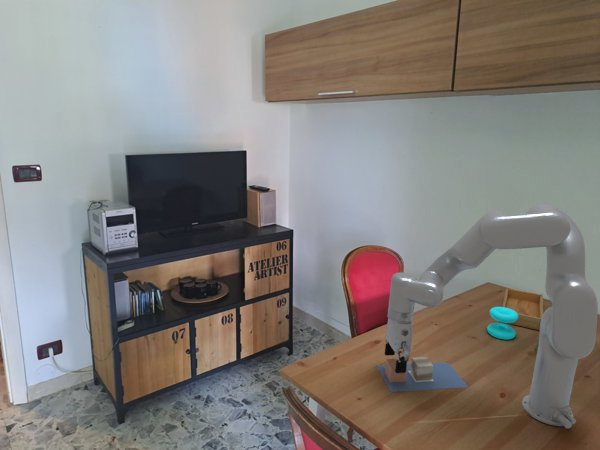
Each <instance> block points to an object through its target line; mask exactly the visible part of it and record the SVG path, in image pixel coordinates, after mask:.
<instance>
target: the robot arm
mask: <svg viewBox="0 0 600 450" xmlns="http://www.w3.org/2000/svg"><path fill="white" fill-rule="evenodd" d="M582 234H583V233H582V232H581V229H580V228H579V226H578V225H577V224H576V221H574V219H573V218H572V217H570V215H569V214H567V213H566V212H564V211H563V210H562V209H559V208H557V207H556V206H554V205H550V204H548V203H547V204H546V203H540V204H539V203H538V204H536V205H533V206H532V207H530V208H529V209H528V210H527V212H526V214H523V215H522V214H521V215H508V213H506V212H504V211H501V210H496V209H494V210H490V211H488V212H486V213H485V214H483V215H482V217H480V218H479V219H478V220H477V221H476V222H475V223H474V224H473V225H472V226H471V227H470V228H469V229H468V231H466V232H465V234H463V236H461V237H460V238H459V239H458V240H457V241H456V242H455V243H454V244H453V246H451V247H450V248H448V249H447V250H446V251H445V252H444V253H442V254H441V255H439V257H437V259H435V260H434V261H433V263H431V264H430V266H428V267H427V268H426V269H425V271H423V272H422V274H420V276H419V279H417V276H415V275H414V274H412V273H408V272H395V273H393V275H392V276H391V281H390V282H391V283H390V289H389V298H388V308H387V318H388V319H387V324H386V331H385V337H386V338H385V345H384V346H385V348H384V356H395V355H396V357H397V358H396V359H398V360H396V368H395V372H396V373H405V372H406V366H407V364H408V362H409V359H410V357H411V354H410V353H411V352H412V344H413V343H412V341H413V323H412V322H413V320H414V311H415V304H418V305H421V306H424V307H426V308H427V307H428V308H434V307H437V306H439V305H441V304H442V301H443V299H444V292H445V291H444V289H445V287H446V286H447V285H448V283H450V282H451V281H452V280H453V279H454V278H455V277H456V276H458V274H460V273H462V272H464V271H466V270H467V271H468V270H474V269H475V268H478V267H479V266H480V265H481V264H482V263H483V261H485V260H486V259H487V258H488V257H489V256H491V254H492V253H494V251H495V250H519V249H520V250H521V249H534V248H545V249H546V276H545V284H544V285H545V286H544V288H545V293H546V295H547V297H548V299H549V301H550V302H551V306H550V307H548V308H547V309H545V310H544V311H543V315H542V317H541V322H540V330H539V337H538V339H539V345H538V351H537V353H536V356H535V357H536V358H535V363H534V368H533V375H532V379H531V380H532V381H531V385H530V390H529V394H528V395H524V397H523V398H522V401H521V405H522V407H523V409H524V410H525V411H526V412H527V414H528V415H529V416H530V417H532V418H533V419H536V420H537V421H539V422H541V423H544V424H546V425H550V426H555V427H563V428H565V429H567V430H568V429H570V428H571V427H572V426H573V425H574V424H576V423H577V420H576V419H575V418H574V413H573V412H572V408H571V406H570V400H571V394H572V390H573V385H574V381H575V380H574V379H575V376H576V371H577V367H578V362H579V360H580V359H581V360H582V359H584V358H585V357H587V356H589V355H590V354H591V353H592V352H593V349H594V348H595V344H596V340H597V339H596V338H597V329H598V328H597V326H598V312H599V311H598V309H599V307H598V306H599V305H598V298H597V294H596V293H595V290H594V289H593V287H592V286H591V285H590V284H589V283H588V282H587V281H588V280H587V279H586V246H585V241H584V238H583V237H584V236H583V235H582ZM401 354H403V356H401Z"/></svg>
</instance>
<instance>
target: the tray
mask: <svg viewBox="0 0 600 450" xmlns="http://www.w3.org/2000/svg"><path fill="white" fill-rule="evenodd" d="M504 292H505V293H504V297H503V302H502V306H501V307H505V308H509V309H512V310H514V311H515V312H516V313H517V314H518V320H517V321H515V322H513V323H507V325H514V326H518V327H522V328H523V327H524V328H528V329H533V330H537V331H540V322H541V317H542V315H543V313H544V294H540V293H536V292H530V291H525V290H520V289H519V290H518V289H513V288H508V287H507V288H506V289H505V291H504Z"/></svg>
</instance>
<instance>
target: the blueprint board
mask: <svg viewBox="0 0 600 450" xmlns="http://www.w3.org/2000/svg"><path fill="white" fill-rule="evenodd" d="M431 363H432V365H433V374H432V380H423V381H416V379H415V378H414V376H413V375H412V373H411V372H410V371H411V363H407V373H406V382H392V383H390V381H389V380H388V378H387V376H386V374H385V367H386V364H383V365H380V364H379V365H376V368H377V370H378V372H379V374H380V376H381V377H382V379H383V381H384V383H385V384H386V386H387V388H388V390H389V392H391V393H396V392H399V393H400V392H413V391H431V390H449V389H465V388H469V386H468V384H467V383H466V382H465V380H463V379H462V377H461V376H460V375H459V374H458V373H457V372H456V370H455V369H454V368H453V366H451V364H450V363H449V362H448V361H447V362H446V361H443V362H441V361H440V362H431Z"/></svg>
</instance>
